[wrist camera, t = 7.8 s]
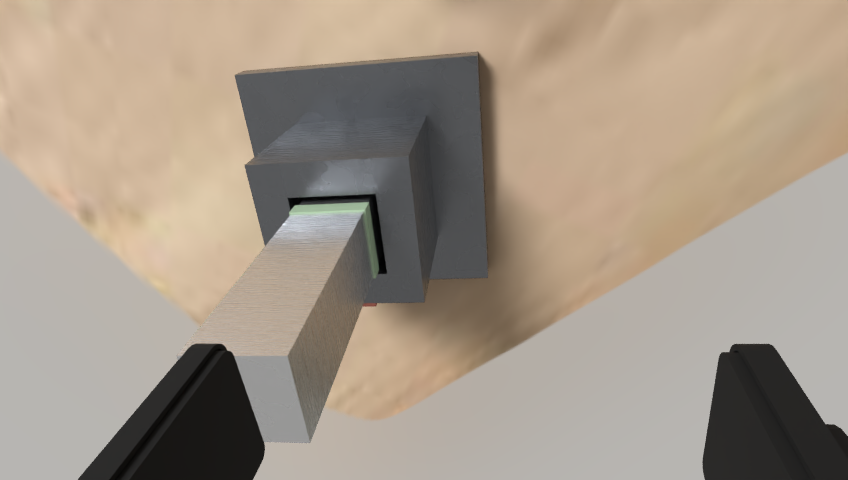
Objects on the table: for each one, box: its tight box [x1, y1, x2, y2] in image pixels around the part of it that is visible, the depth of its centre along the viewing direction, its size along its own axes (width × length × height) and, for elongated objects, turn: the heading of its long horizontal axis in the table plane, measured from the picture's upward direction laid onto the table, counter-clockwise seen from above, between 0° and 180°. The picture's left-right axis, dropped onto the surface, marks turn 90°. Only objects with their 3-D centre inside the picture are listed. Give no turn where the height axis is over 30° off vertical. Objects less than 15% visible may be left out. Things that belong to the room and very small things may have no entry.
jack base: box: [235, 52, 488, 306], centre depth 35 cm, size 16×16×10 cm
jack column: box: [177, 194, 384, 443], centre depth 26 cm, size 4×4×16 cm
